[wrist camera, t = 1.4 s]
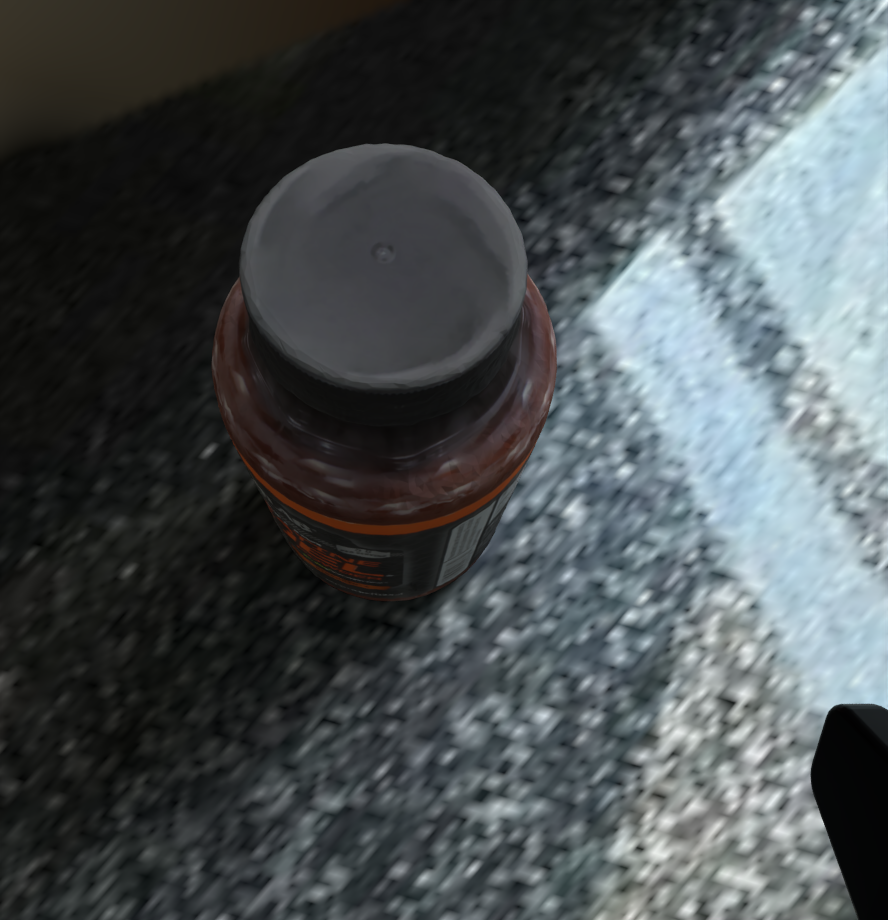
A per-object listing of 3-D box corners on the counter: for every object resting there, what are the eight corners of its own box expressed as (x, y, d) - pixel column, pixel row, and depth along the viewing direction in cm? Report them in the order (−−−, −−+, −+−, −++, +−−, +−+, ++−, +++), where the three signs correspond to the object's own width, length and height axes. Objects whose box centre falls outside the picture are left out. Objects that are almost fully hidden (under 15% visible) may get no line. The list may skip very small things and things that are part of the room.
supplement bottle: (233, 533, 21) (58, 310, 10) (356, 361, 23) (316, 20, 12) (429, 652, 20) (460, 545, 9) (539, 463, 22) (669, 195, 11)
